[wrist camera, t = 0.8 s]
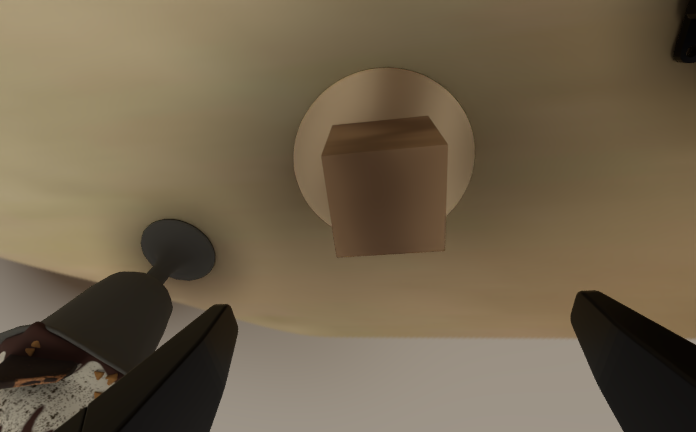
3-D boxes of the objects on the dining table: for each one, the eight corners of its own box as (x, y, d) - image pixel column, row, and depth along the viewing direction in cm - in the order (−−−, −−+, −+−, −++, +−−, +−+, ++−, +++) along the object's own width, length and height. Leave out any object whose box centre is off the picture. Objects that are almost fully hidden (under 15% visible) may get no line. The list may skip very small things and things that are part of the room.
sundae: (190, 303, 25) (0, 597, 12) (110, 243, 23) (-228, 527, 10) (248, 258, 23) (92, 560, 10) (167, 187, 21) (-175, 459, 8)
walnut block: (428, 115, 18) (448, 144, 13) (428, 201, 20) (444, 250, 16) (332, 125, 18) (320, 155, 14) (343, 208, 20) (336, 257, 16)
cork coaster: (479, 56, 16) (482, 56, 16) (467, 232, 21) (469, 235, 21) (278, 79, 17) (276, 80, 17) (310, 242, 22) (309, 245, 22)
